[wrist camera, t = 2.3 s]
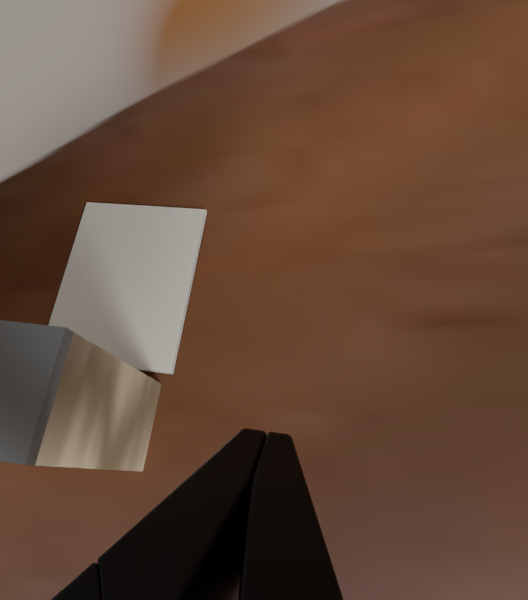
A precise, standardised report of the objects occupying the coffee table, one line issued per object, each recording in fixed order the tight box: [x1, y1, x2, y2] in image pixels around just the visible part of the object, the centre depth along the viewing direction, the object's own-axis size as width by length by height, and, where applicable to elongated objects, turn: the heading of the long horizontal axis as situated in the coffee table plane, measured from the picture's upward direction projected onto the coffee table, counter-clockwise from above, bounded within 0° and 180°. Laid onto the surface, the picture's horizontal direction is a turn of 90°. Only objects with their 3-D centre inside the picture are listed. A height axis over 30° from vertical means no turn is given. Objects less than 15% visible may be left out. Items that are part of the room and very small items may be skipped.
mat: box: [49, 202, 207, 374], centre depth 25 cm, size 9×7×1 cm
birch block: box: [0, 320, 161, 471], centre depth 18 cm, size 4×6×9 cm, turn 82°
